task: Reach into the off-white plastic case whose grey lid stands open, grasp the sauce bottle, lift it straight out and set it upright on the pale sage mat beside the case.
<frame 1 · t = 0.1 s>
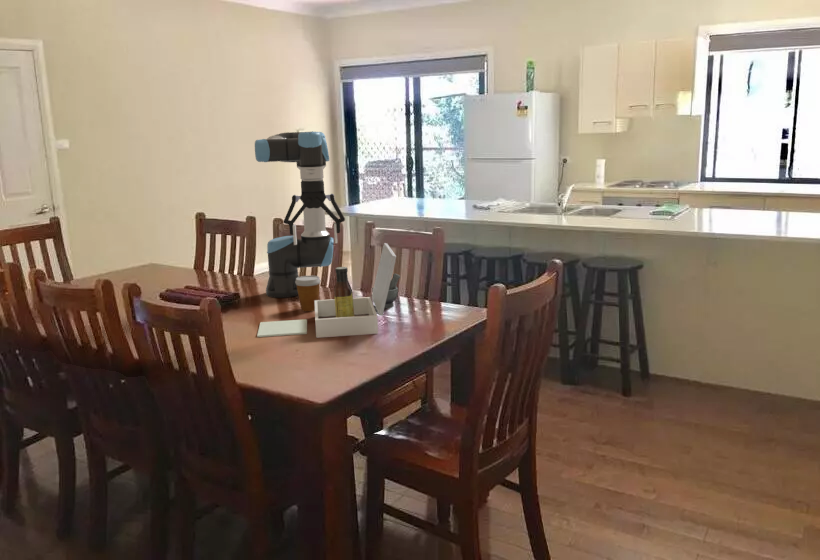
hand: (315, 243, 230), 28 cm above the table, fingers open, 13 cm apart
case lid: (383, 277, 233), point 16 cm above the table, hinge at 105.0°
mortar and pestle: (387, 306, 259), on the table
sauce bottle: (345, 325, 235), resting in case
case: (345, 324, 235), on the table
disposable coffee cup: (309, 309, 257), on the table
mat: (283, 328, 232), on the table
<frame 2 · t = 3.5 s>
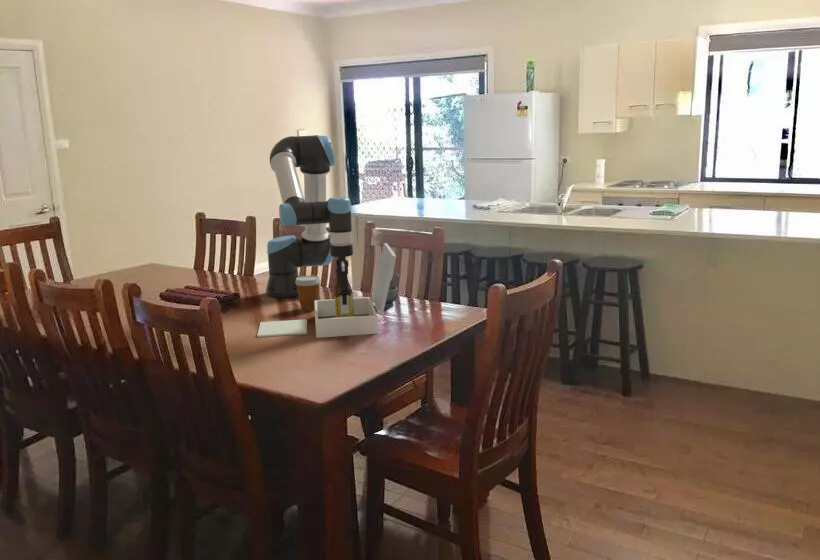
hand: (344, 310, 234), 5 cm above the table, fingers closed on sauce bottle, 6 cm apart
sauce bottle: (345, 325, 235), resting in case, touching gripper
everything else where it was.
when the fingers open (6 cm above the table, at t = 10.6 s): sauce bottle stays where it is, resting on mat.
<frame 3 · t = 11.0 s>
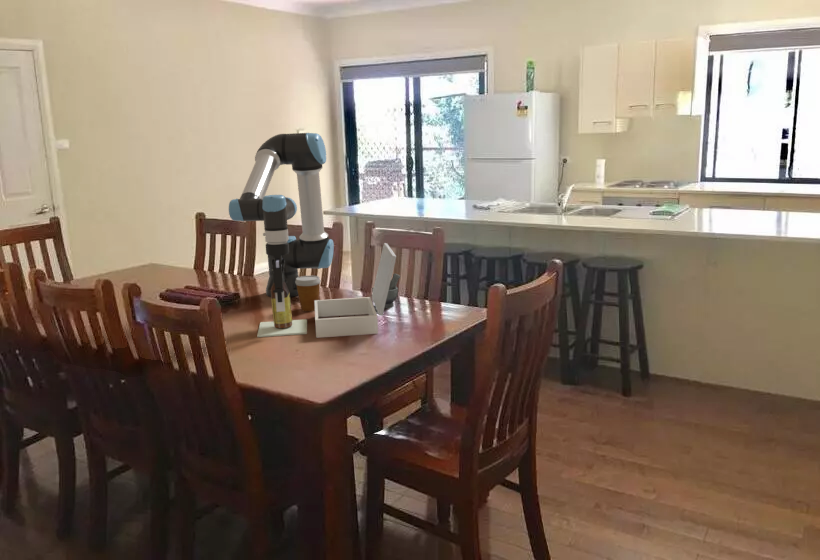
hand: (281, 306, 230), 8 cm above the table, fingers open, 11 cm apart
sauce bottle: (283, 327, 232), resting on mat
everything else where it was.
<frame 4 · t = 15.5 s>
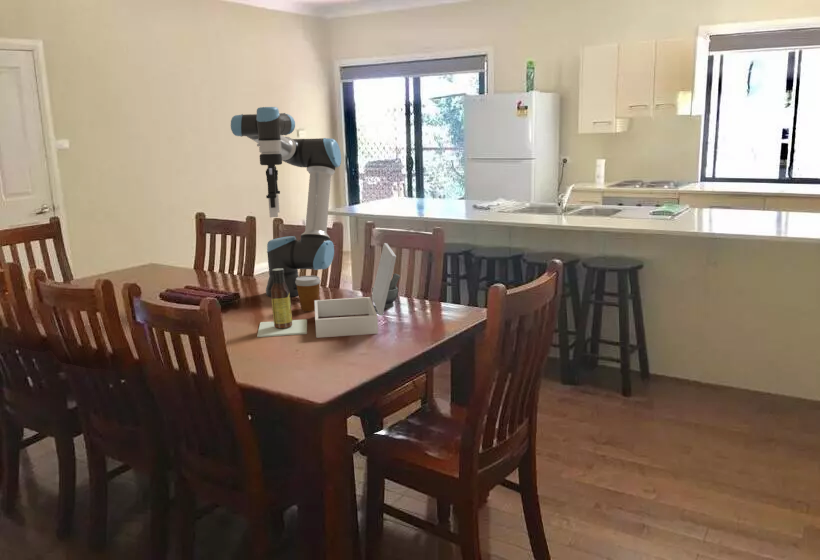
hand: (274, 214, 240), 37 cm above the table, fingers open, 13 cm apart
nothing on the table moved.
at the end: sauce bottle inside the target area on the mat (0.4 cm from its centre), point 0.4 cm above the mat's base; sauce bottle tilted 0°; the gripper is holding nothing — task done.
